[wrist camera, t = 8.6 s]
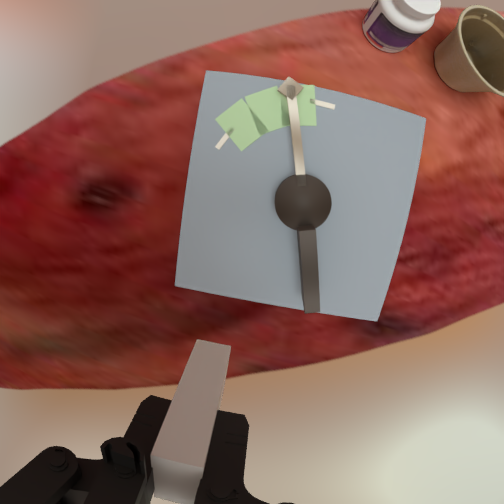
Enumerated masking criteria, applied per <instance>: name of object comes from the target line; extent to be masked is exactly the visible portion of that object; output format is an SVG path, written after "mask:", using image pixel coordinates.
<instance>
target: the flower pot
mask: <svg viewBox="0 0 504 504" xmlns="http://www.w3.org/2000/svg"><path fill="white" fill-rule="evenodd" d="M434 57H435V68H436V70H437V72H438V74H439V76H440V77H441V79H442V80H443V81H444V82H445V83H446V84H447V85H448V86H449V87H450V88H452V89H454V90H457V91H460V92H493V93H495V94H498V95H500V96H502V97H504V18H503V17H502V16H501V15H500V14H499V13H497V12H496V11H494V10H492V9H490V8H488V7H485V6H481V5H473V6H470V7H467V8H466V9H464V10H463V12H462V13H461V14H460V16H459V19H458V23H457V25H456V27H455V29H454V30H453V31H452V32H451V33H450V34H449V35H448V36H447V37H446V38H445V39H444V40H443V41H442V42H441V43H440V44H439V45H438V46H437V47H436V49H435V52H434Z"/></svg>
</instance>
